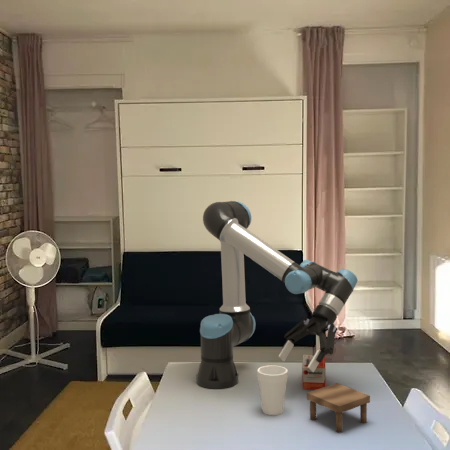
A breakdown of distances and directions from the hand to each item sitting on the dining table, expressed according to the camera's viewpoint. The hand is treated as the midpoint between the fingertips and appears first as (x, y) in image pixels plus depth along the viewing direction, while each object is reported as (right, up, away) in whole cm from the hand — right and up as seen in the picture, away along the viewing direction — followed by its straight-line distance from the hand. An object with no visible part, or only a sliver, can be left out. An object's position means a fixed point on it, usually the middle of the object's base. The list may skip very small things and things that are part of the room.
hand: (295, 364), depth 172 cm
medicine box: (+10, -12, +21) cm, 26 cm away
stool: (+11, -14, -11) cm, 21 cm away
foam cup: (-7, -14, -3) cm, 16 cm away
